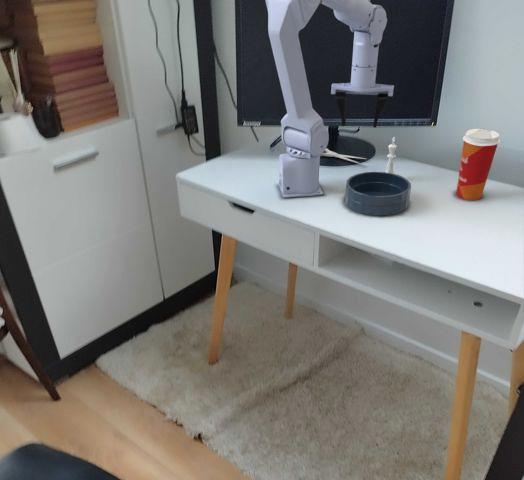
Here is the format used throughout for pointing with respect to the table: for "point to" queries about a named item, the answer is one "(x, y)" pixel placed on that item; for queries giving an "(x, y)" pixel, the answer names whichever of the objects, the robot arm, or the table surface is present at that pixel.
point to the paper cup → (476, 162)
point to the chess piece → (391, 157)
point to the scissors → (338, 155)
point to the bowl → (377, 193)
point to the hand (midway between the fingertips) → (359, 125)
